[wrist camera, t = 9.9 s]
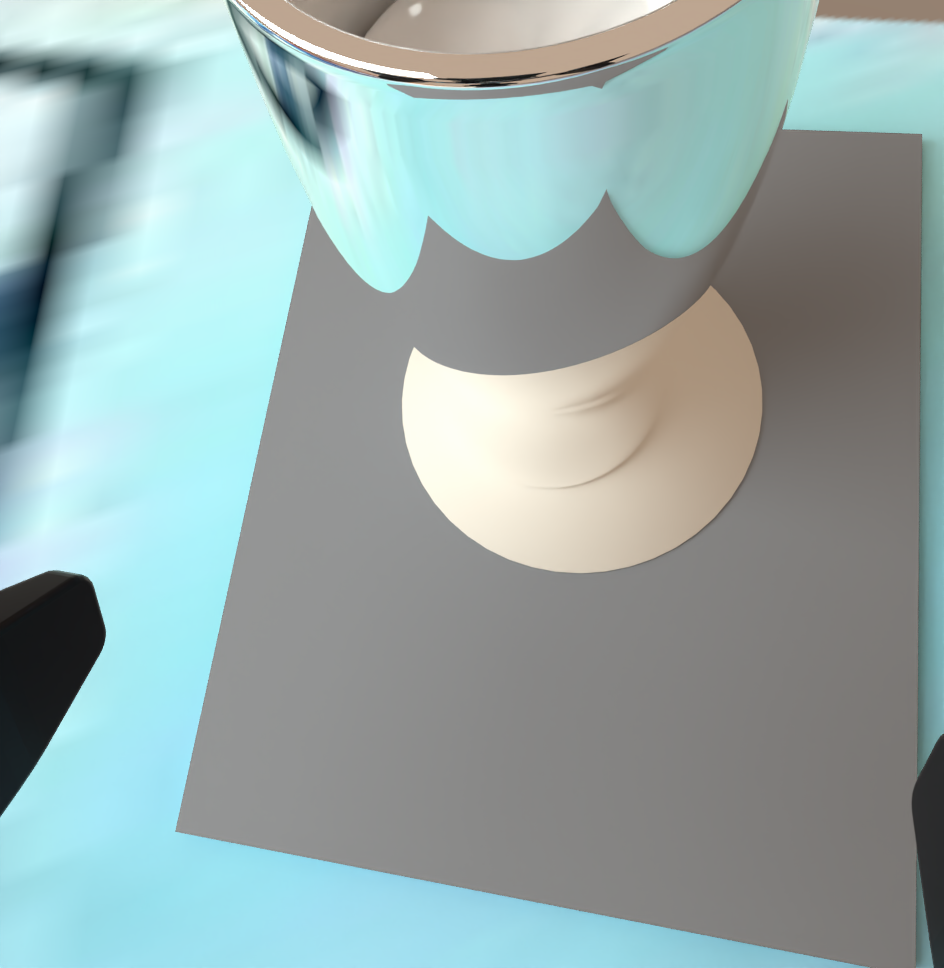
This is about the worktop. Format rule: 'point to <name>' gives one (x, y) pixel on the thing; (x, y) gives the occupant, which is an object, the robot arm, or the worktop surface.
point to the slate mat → (606, 603)
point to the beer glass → (532, 189)
